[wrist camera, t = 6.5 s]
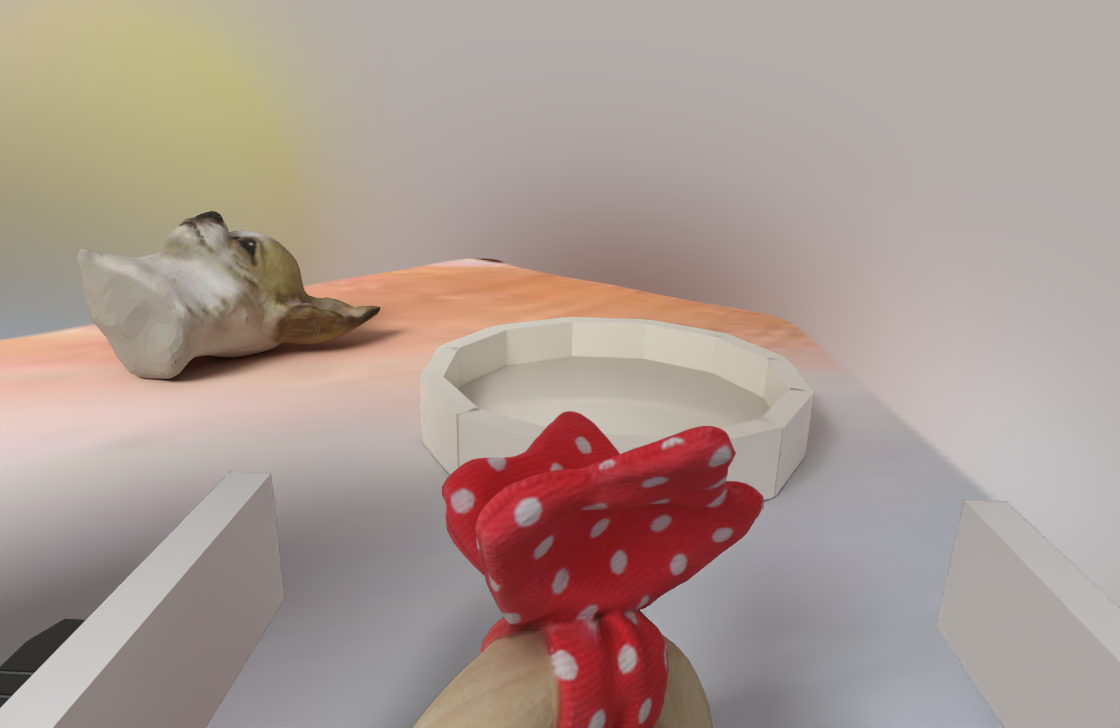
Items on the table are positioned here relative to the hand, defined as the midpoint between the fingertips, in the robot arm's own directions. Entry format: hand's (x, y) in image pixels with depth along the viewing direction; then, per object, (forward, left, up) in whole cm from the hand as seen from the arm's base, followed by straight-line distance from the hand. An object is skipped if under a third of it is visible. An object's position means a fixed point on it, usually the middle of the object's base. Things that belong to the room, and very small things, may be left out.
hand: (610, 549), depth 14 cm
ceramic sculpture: (-21, +30, -7) cm, 37 cm away
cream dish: (+1, +21, -7) cm, 22 cm away
